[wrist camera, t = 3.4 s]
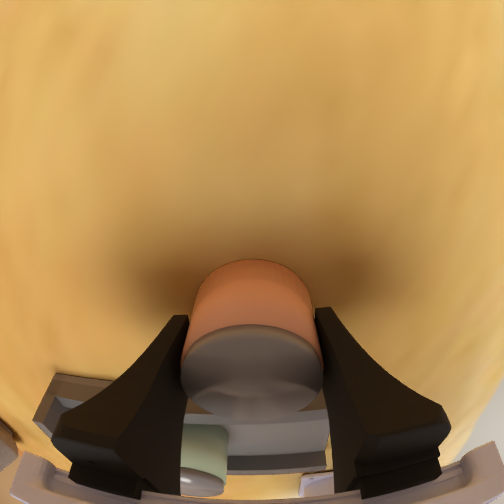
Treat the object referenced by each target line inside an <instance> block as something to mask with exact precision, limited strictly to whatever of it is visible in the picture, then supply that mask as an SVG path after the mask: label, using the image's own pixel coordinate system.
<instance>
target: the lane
mask: <svg viewBox="0 0 504 504" xmlns="http://www.w3.org/2000/svg"><path fill="white" fill-rule="evenodd" d="M113 382H114V381H107V380H99V379H91V378H83V377H77V376H70V375H64V374H58V373H55V375H54V377H53V379H52V381H51V383H50V385H49V387H48V389H47V391H46V393H45V395H44V397H43V399H42V401H41V403H40V405H39V407H38V409H37V411H36V413H35V415H34V417H33V420H32V421H33V422H34V423H35V424H36V425H37V426H38V427H39V428H40V429H41V430H42V431H43V432H44V433H45V434H46V435H47V436H48V437H49V438H50V439H51V437H52V435H53V432H54V430H55V427H56V425H57V422H58V420H59V418H60V416H61V414H62V413H64V412H66V411H68V410H70V409H72V408H74V407H76V406H78V405H80V404H82V403H84V402H85V401H87V400H89V399H90V398H92V397H93V396H95V395H96V394H98V393H99V392H101V391H102V390H103V389H105V388H106V387H107V386H109V385H110V384H111V383H113ZM184 423H186V424H210V425H220V426H221V427H223V428H224V429H225V430H226V431H227V432H228V434H229V443H228V458H227V473H226V475H273V474H290V473H302V472H313V471H321V470H325V468H326V465H327V464H326V457H325V448H326V444H327V440H328V437H329V433H330V427H329V419H328V412H327V407H326V403H325V399H324V395H323V390H322V388H321V390H320V392H319V394H318V395H317V397H316V398H315V399H314V400H313V401H312V402H311V403H310V404H309V405H307V406H306V407H304V408H303V409H301V410H299V411H297V412H295V413H293V414H291V415H288V416H285V417H282V418H277V419H273V420H266V421H240V420H233V419H229V418H224V417H221V416H218V415H215V414H213V413H210V412H208V411H206V410H204V409H203V408H201V407H199V406H198V405H197V404H195V403H194V402H193V401H192V400H191V399H190V398H189V397H188V402H187V406H186V411H185V416H184Z"/></svg>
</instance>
